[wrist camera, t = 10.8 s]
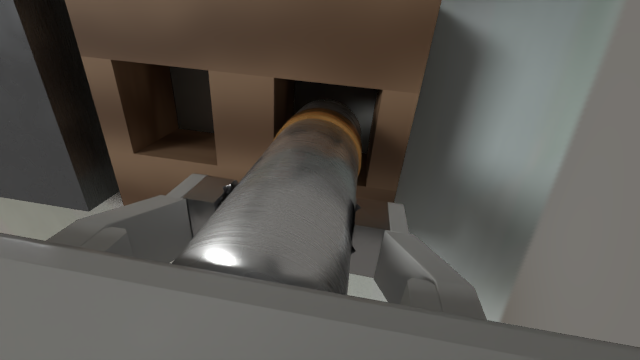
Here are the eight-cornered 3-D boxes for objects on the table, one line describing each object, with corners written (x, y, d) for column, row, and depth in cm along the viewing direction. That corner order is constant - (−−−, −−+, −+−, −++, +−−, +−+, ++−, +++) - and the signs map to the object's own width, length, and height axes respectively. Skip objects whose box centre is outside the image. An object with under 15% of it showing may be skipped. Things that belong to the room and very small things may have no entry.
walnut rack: (128, -26, 18) (53, -41, 14) (424, -2, 17) (443, -11, 12) (166, 174, 25) (123, 206, 21) (380, 205, 23) (382, 247, 19)
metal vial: (290, 92, 16) (136, 226, 5) (368, 101, 16) (363, 264, 5) (288, 163, 18) (171, 359, 7) (357, 172, 18) (337, 394, 7)
